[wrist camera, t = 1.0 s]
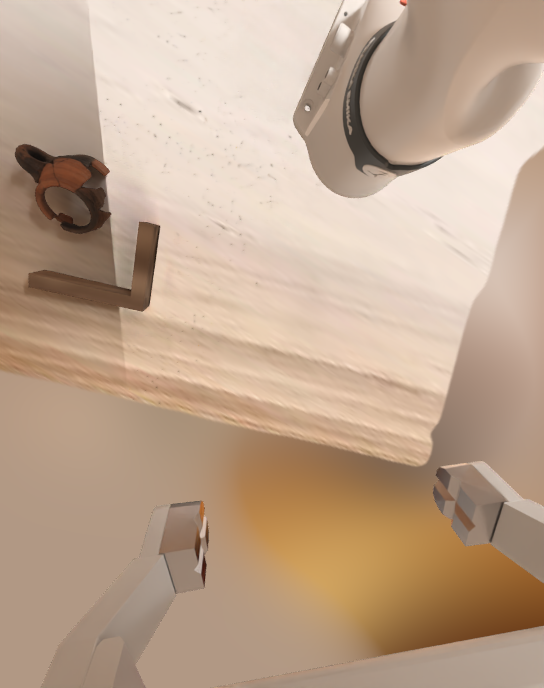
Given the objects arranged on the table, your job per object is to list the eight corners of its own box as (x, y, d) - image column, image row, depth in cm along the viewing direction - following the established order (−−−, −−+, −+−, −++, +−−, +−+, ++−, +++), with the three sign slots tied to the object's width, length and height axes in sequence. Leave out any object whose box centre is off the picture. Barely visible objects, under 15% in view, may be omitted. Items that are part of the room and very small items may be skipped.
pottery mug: (133, 178, 44) (112, 204, 39) (111, 224, 50) (90, 252, 44) (40, 112, 38) (1, 132, 33) (27, 172, 44) (-8, 197, 38)
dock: (46, 194, 44) (29, 191, 40) (160, 225, 47) (153, 225, 43) (44, 282, 48) (28, 286, 44) (149, 305, 51) (142, 311, 47)
